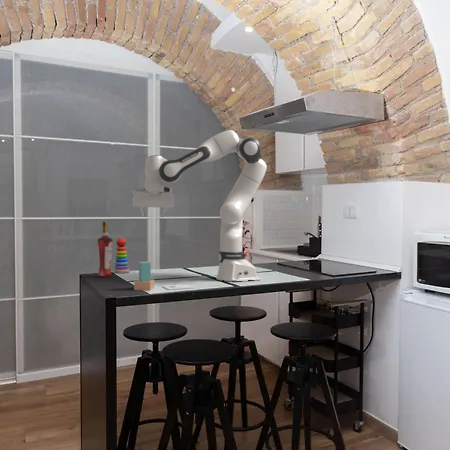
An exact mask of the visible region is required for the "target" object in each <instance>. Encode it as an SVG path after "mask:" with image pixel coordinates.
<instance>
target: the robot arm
mask: <svg viewBox="0 0 450 450" xmlns="http://www.w3.org/2000/svg"><path fill="white" fill-rule="evenodd" d="M261 147H262V146H261V143H260V141H259V140H258V139H256V138H255V137H251V136H250V137H249V136H248V137H245V138H240V137H239V135H238V134H237V132H235V131H234V130H232V129H227V130H224V131H222V132H220V133H216V134H215V135H213V136H212V137H209V138H208V139H207V140H205V141H204V142H202V144H200V145H199V146H198V147H196V149H194V150H193V151H191V152H189V153H187V154H185V155H183V156H181V157H178V158H176V159H169V160H168V159H166V158H164V157H163V156H162V155H150V156H148V157H147V158H146V159H145V163H144V164H145V165H144V175H145V179H144V188H143V187H142V188H139V187H136V188H134V189H133V190H132V192H131V193H132V194H131V195H132V207H134V208H139V211H140V212H141V217H143V218H144V217H147V216H146V214H147V213H146V212H144V211H143V210H144V208H162V209H163V211H162V212H161V213H160V217H162V218H164V217H165V214H166V212H167V210H168V208H170V209H171V208H172V209H173V208H174V207H175V199H174V198H175V197H174V194H173V193H172V192H173V188H172V187H169V186H166V185H164V183H163V182H167V183H176V182H177V181H179V180H180V179H181V178H182V174H183V173H184V172H186V171H187V170H190V168H192V167H195V166H196V165H198V164H201V163H211V162H215V161H218V160H220V159H221V158H224V157H225V156H227V155H229V154H231V153H234V154H235V155H236V156H237V157H238V158H239V159H241V160H242V161H244V166H243V169H242V171H241V172H240V174H239V176H238V177H237V180H236V181H235V184H234V185H233V187H232V189H231V191H230V192H229V194H228V195H227V197H226V198H225V199H224V200H225V201H224V202H223V204H222V205H221V208H220V210H219V217H220V220H221V222H220V233H219V239H220V240H219V252H218V261H219V263H218V264H219V265H218V270H217V275H216V277H215V278H216V280H218V281H223V280H224V282H232V281H242V282H249V281H248V280H255V281H261V280H262V277H260V276H259V275H258V274H257V269H256V267H255V265H253V264H252V263H251V262H250V261H248V260H247V259H246V258H248V257H249V256H250V254H249V253H248V252H244V251H243V227H244V226H243V225H244V223H243V221H244V220H243V218H244V214H245V213H246V210H247V208H248V207H249V205H250V204H251V201H252V200H253V198H254V196H255V195H256V192H257V190H258V189H259V187H260V185H261V183H262V181H263V179H264V177H265V175H266V172H267V169H268V166H267V164H266V161H264V160H263V159H261V158H262V148H261Z"/></svg>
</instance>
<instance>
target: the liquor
mask: <svg viewBox="0 0 450 450" xmlns="http://www.w3.org/2000/svg"><path fill="white" fill-rule="evenodd" d="M108 227H109V222H108V221H102V235H101V237H99V238H98V239H97V254H98V273H97V275H98V276H99V277H100V278H110V276H112V255H113V254H112V253H113V241H114V240H113V238H111V237H109V230H108V229H109V228H108Z"/></svg>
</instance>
